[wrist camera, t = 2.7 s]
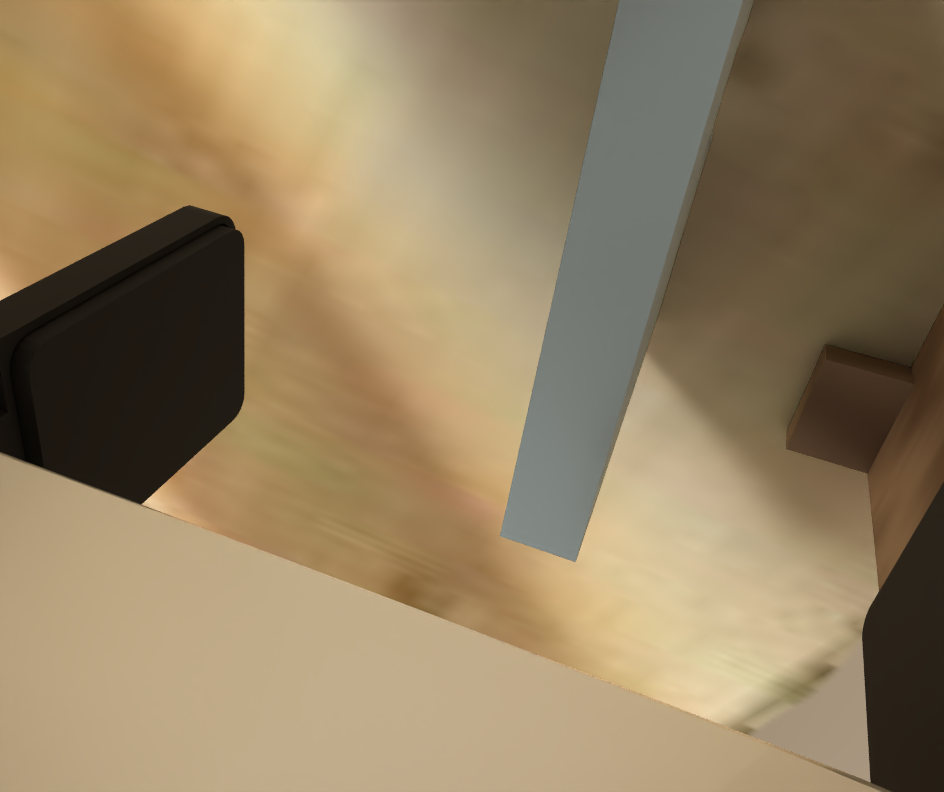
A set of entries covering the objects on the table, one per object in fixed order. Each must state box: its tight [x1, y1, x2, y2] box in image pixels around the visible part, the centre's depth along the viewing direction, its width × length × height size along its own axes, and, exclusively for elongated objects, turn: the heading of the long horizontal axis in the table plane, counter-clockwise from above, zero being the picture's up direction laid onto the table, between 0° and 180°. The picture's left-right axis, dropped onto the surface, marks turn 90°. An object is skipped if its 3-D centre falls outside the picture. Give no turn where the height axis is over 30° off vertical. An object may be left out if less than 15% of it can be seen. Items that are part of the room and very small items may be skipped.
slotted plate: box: [500, 0, 754, 562], centre depth 22 cm, size 18×2×14 cm, turn 172°
